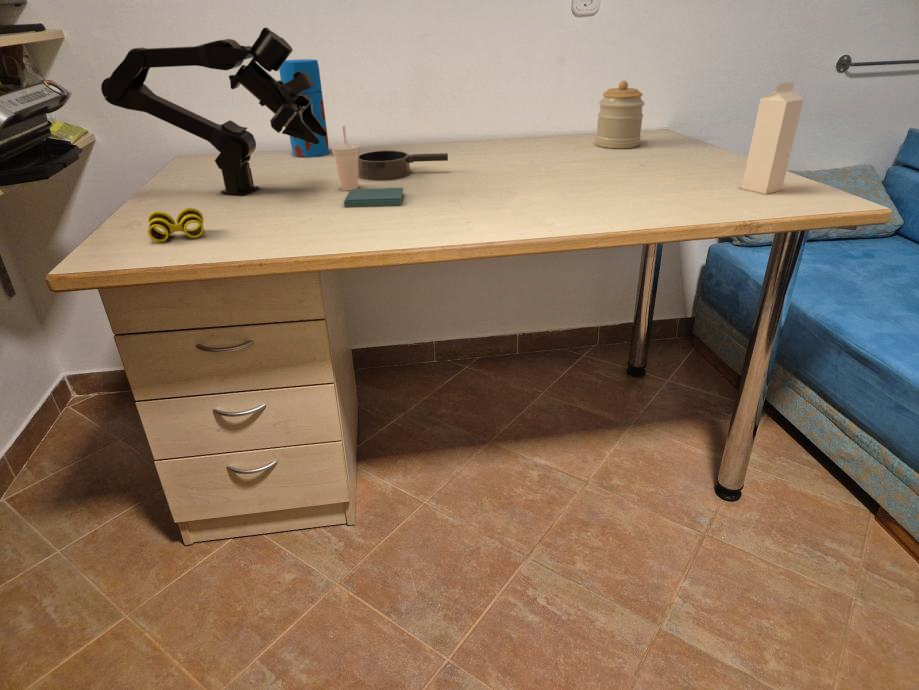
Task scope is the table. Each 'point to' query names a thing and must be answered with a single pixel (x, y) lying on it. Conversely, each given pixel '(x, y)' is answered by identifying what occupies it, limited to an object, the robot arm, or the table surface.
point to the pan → (383, 165)
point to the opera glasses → (169, 224)
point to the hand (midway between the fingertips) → (322, 138)
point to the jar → (620, 117)
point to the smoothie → (347, 163)
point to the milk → (772, 139)
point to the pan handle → (428, 157)
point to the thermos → (315, 93)
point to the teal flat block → (374, 197)
